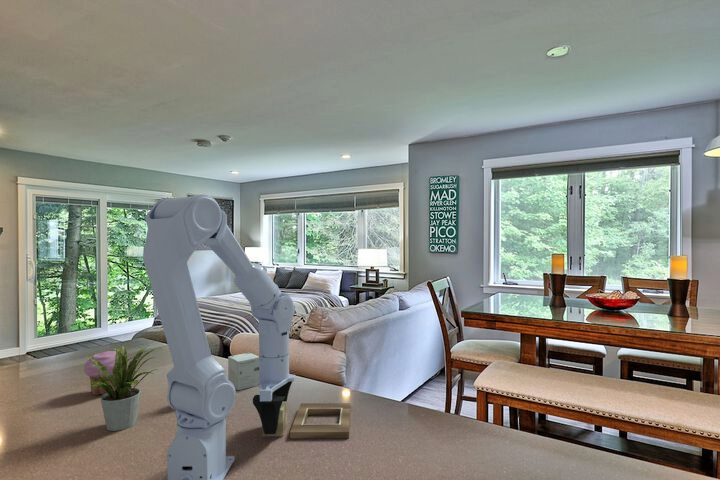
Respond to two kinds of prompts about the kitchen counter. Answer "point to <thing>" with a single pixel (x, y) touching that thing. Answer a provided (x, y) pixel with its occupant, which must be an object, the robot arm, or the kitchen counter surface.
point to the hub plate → (321, 430)
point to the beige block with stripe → (280, 421)
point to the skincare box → (243, 370)
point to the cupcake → (91, 371)
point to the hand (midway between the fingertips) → (274, 423)
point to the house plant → (121, 390)
